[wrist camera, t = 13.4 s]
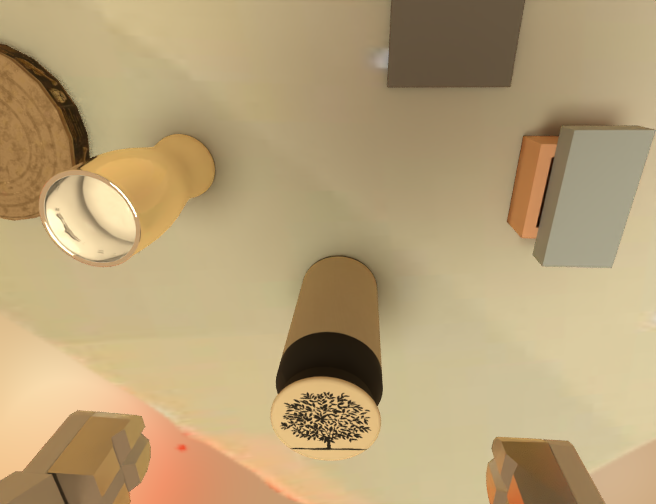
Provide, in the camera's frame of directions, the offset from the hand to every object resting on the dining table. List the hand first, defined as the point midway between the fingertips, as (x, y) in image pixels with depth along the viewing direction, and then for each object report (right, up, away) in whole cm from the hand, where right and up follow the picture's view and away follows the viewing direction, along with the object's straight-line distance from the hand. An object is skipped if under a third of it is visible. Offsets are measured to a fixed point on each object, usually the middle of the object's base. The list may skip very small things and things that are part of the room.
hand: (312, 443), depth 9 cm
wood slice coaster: (-30, +16, +30) cm, 46 cm away
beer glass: (-13, +13, +30) cm, 35 cm away
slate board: (+21, +9, +24) cm, 33 cm away
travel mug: (+2, +1, +34) cm, 34 cm away
